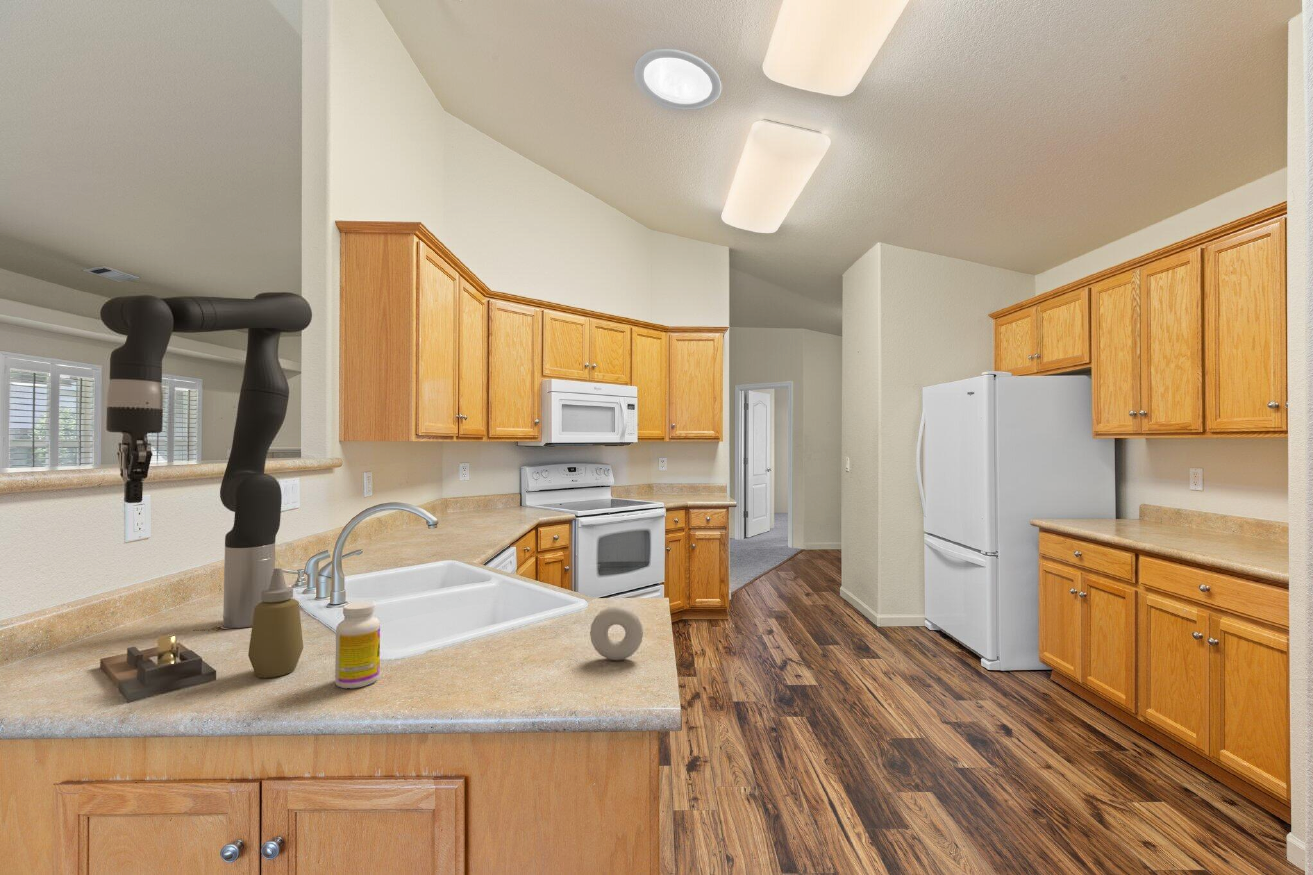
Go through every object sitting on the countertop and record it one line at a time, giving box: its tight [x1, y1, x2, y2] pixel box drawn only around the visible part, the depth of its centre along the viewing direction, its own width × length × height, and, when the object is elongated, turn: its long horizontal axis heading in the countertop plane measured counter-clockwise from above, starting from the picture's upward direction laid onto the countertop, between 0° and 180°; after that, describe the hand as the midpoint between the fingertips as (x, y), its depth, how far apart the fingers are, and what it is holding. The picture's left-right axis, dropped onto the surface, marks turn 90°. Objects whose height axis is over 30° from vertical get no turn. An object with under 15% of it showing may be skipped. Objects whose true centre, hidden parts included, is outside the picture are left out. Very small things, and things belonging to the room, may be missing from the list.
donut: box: [589, 605, 644, 661], centre depth 108 cm, size 10×4×10 cm, turn 90°
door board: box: [99, 642, 217, 703], centre depth 99 cm, size 11×22×4 cm, turn 52°
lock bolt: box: [149, 633, 181, 667], centre depth 95 cm, size 3×8×6 cm, turn 52°
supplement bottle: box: [334, 601, 381, 689], centre depth 97 cm, size 7×7×13 cm
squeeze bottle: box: [247, 567, 304, 679], centre depth 100 cm, size 8×8×18 cm
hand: (133, 502), depth 103 cm, fingers closed
